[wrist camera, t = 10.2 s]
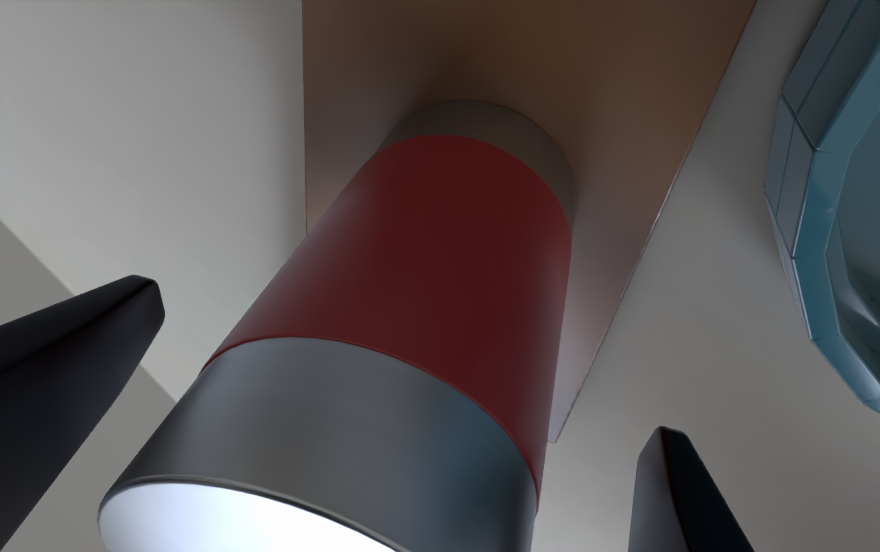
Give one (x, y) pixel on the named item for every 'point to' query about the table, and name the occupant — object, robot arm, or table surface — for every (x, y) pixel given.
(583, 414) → the table surface
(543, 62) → the board
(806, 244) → the dish
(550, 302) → the can
